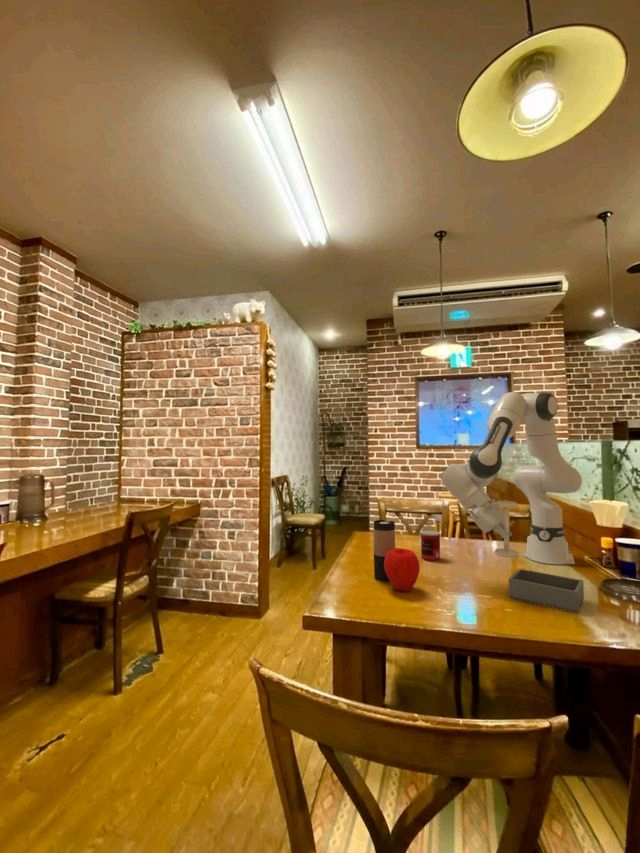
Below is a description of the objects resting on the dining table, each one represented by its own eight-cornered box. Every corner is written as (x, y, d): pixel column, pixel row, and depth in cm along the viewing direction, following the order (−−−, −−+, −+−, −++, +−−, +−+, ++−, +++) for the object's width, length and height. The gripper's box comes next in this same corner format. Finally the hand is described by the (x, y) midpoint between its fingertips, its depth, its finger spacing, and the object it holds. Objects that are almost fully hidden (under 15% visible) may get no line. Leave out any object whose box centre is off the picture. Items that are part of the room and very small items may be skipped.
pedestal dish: (498, 550, 135) (498, 499, 135) (521, 554, 130) (520, 502, 131) (492, 554, 129) (492, 502, 130) (515, 558, 125) (515, 504, 125)
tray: (519, 586, 132) (519, 568, 132) (583, 600, 121) (583, 580, 121) (509, 598, 122) (508, 578, 122) (577, 614, 111) (577, 592, 111)
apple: (377, 585, 133) (376, 545, 133) (406, 581, 137) (406, 542, 138) (395, 598, 122) (395, 554, 122) (427, 593, 126) (427, 551, 127)
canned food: (438, 556, 169) (437, 530, 169) (442, 562, 161) (441, 534, 161) (419, 556, 169) (419, 530, 170) (422, 561, 161) (422, 534, 162)
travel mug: (379, 583, 136) (378, 524, 137) (370, 576, 143) (370, 520, 144) (399, 581, 138) (398, 523, 139) (389, 574, 145) (389, 519, 146)
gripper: (473, 501, 127) (507, 536, 120) (493, 495, 143) (523, 526, 136) (460, 513, 130) (492, 549, 123) (480, 506, 145) (509, 537, 138)
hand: (508, 537), depth 129 cm, fingers closed on pedestal dish
